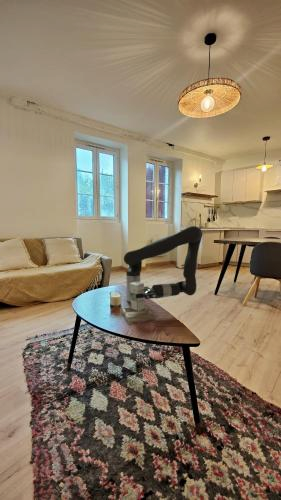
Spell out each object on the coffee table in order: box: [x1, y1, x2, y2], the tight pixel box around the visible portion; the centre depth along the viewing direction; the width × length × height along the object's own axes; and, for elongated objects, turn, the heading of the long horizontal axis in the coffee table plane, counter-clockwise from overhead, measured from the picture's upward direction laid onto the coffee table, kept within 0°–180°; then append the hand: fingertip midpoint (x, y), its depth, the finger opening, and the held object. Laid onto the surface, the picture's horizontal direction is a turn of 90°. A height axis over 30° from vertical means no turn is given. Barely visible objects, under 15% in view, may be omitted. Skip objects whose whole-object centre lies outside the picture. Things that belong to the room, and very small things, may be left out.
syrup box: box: [130, 281, 146, 311], centre depth 120 cm, size 6×6×14 cm
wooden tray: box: [121, 305, 154, 324], centre depth 121 cm, size 14×14×3 cm
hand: (133, 293), depth 119 cm, fingers closed on syrup box, 8 cm apart
